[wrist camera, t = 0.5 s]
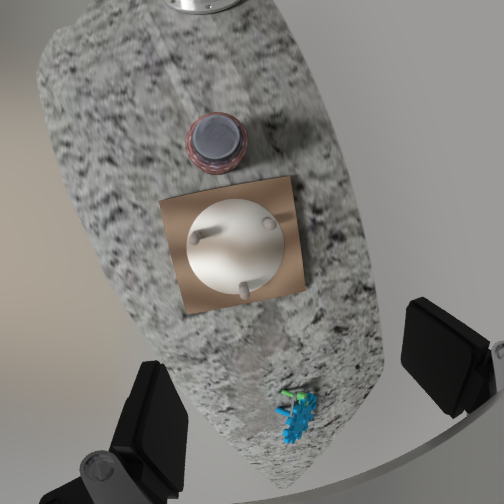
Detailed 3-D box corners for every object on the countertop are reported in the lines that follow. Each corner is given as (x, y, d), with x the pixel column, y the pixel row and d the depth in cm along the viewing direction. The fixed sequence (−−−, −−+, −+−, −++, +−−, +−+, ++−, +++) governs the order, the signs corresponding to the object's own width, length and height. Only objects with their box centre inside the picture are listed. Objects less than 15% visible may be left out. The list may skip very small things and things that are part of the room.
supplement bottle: (187, 168, 32) (170, 160, 21) (201, 124, 31) (191, 96, 20) (234, 181, 33) (239, 178, 22) (247, 136, 32) (259, 113, 21)
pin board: (161, 200, 33) (152, 202, 28) (287, 176, 33) (296, 175, 29) (188, 309, 36) (184, 325, 32) (302, 286, 37) (312, 299, 33)
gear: (315, 425, 43) (287, 455, 35) (289, 415, 47) (258, 442, 39) (324, 380, 42) (294, 409, 34) (295, 371, 46) (261, 395, 38)
